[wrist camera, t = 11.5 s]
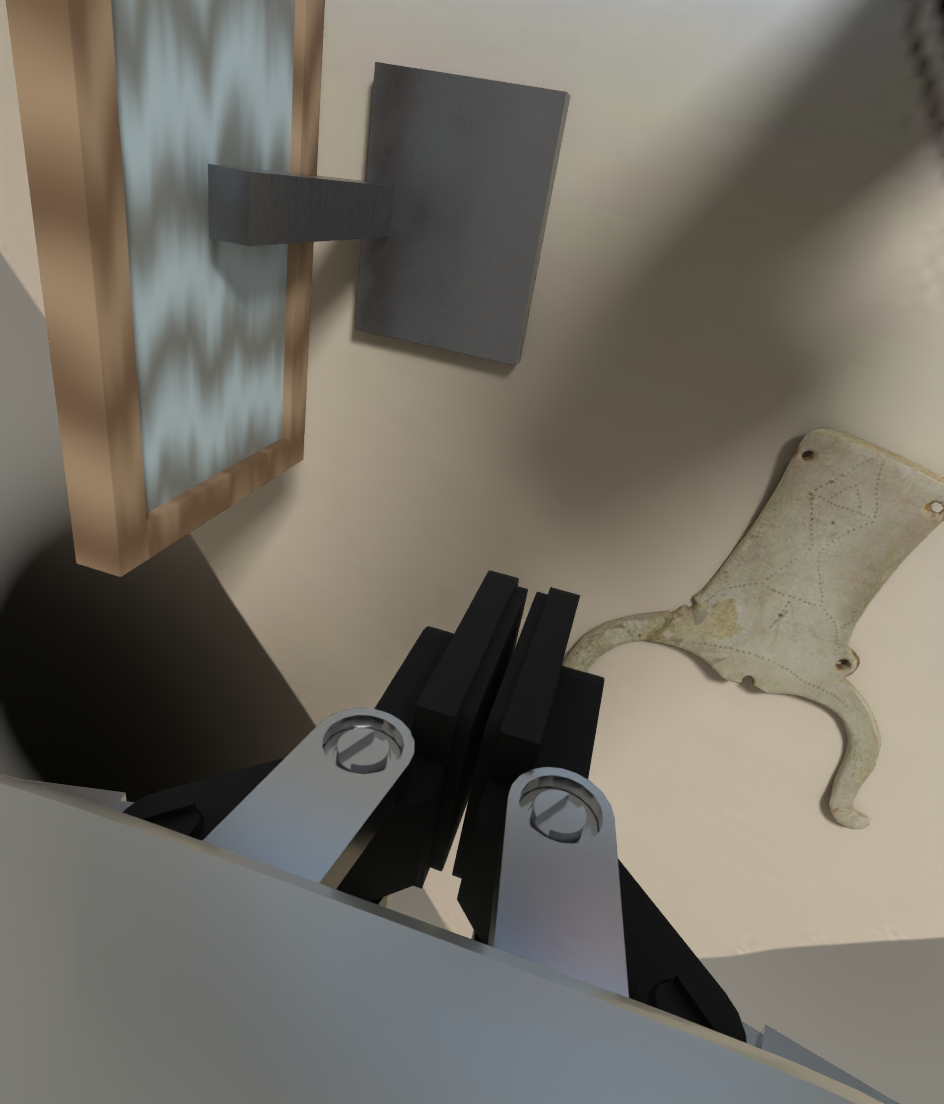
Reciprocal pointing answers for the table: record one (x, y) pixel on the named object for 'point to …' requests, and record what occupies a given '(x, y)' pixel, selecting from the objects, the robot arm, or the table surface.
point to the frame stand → (424, 208)
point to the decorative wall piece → (803, 588)
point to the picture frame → (166, 253)
